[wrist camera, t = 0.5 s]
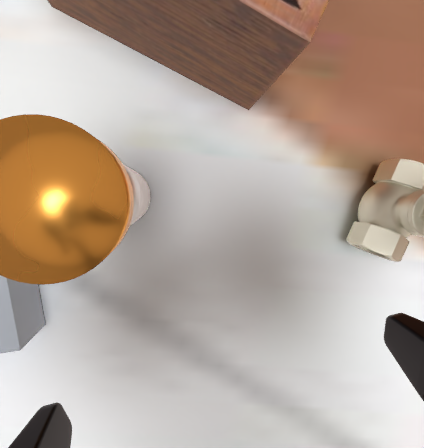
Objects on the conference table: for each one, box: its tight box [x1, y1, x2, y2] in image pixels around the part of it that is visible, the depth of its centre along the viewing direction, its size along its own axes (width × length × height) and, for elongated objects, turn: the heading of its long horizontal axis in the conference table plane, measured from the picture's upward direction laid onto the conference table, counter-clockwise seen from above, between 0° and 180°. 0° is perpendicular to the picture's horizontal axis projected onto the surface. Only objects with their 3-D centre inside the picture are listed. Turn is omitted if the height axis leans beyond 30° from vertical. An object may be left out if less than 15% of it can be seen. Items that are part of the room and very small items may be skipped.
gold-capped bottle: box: [0, 115, 151, 284], centre depth 14 cm, size 5×5×13 cm
